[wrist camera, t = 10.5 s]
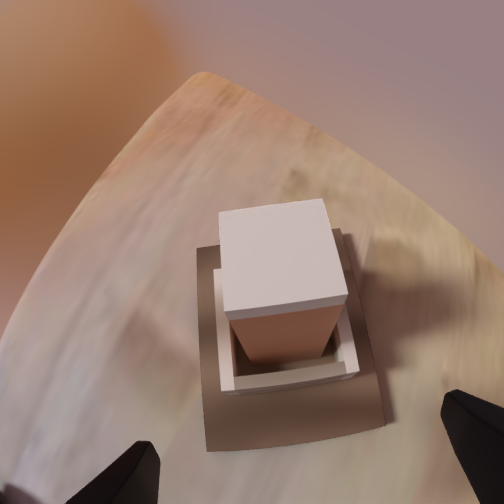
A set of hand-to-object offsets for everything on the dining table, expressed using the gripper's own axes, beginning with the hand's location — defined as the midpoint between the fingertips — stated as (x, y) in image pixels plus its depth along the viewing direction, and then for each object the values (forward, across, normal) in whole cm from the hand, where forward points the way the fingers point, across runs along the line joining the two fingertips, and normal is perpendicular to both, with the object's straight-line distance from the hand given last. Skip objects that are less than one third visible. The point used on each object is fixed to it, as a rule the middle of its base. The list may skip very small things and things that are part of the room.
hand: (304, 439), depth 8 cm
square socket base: (+14, 0, +4) cm, 15 cm away
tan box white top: (+14, 0, +4) cm, 14 cm away
